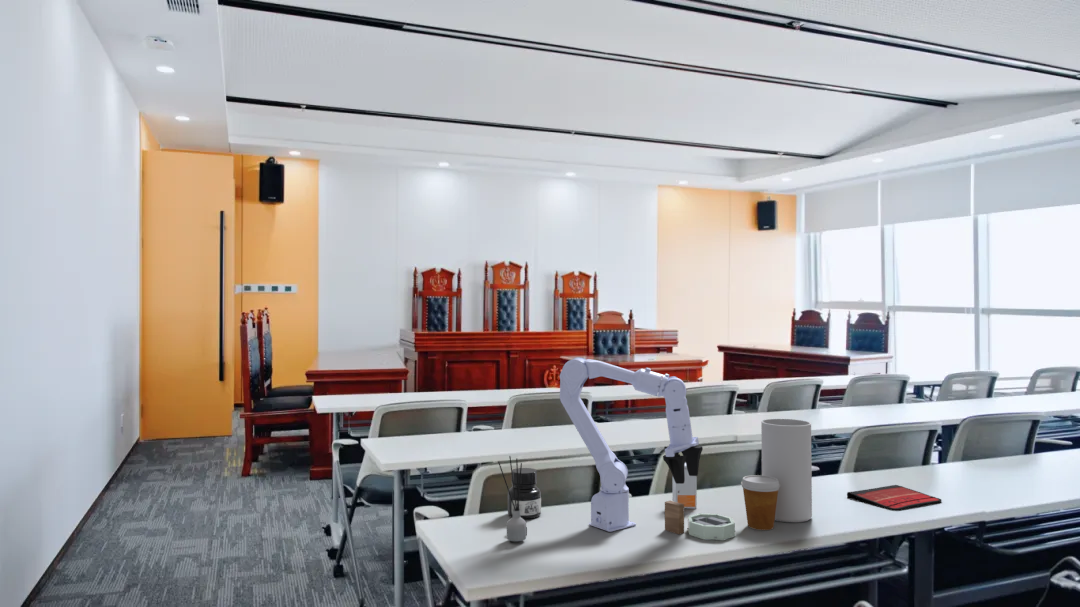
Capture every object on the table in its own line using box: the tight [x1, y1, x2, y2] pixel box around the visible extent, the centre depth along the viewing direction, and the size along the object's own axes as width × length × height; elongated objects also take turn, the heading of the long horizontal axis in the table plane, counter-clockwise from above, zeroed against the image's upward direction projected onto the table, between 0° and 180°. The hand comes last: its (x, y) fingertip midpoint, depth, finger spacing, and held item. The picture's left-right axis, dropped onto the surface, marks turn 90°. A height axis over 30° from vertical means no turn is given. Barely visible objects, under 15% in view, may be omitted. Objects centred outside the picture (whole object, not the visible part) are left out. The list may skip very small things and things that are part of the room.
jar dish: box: [686, 512, 736, 541], centre depth 174 cm, size 11×11×3 cm
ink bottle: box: [507, 467, 542, 520], centre depth 190 cm, size 10×9×12 cm
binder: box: [846, 484, 943, 512], centre depth 204 cm, size 16×2×21 cm
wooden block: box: [664, 500, 685, 535], centre depth 175 cm, size 2×4×7 cm, turn 38°
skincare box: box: [671, 462, 698, 510], centre depth 197 cm, size 6×4×12 cm
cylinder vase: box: [761, 418, 813, 523], centre depth 188 cm, size 12×12×25 cm
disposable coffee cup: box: [740, 474, 780, 531], centre depth 179 cm, size 10×10×12 cm
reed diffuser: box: [497, 455, 528, 542], centre depth 168 cm, size 10×7×20 cm
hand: (686, 479), depth 177 cm, fingers open, 7 cm apart
